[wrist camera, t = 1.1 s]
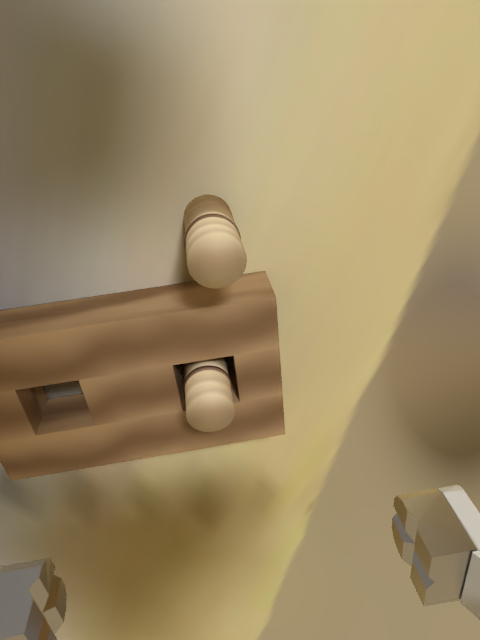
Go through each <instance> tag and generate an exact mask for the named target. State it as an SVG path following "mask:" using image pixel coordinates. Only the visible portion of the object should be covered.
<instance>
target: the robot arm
mask: <svg viewBox="0 0 480 640" xmlns="http://www.w3.org/2000/svg"><path fill="white" fill-rule="evenodd" d="M394 508H395V510H396V512H397V513H396V515H395V516H394V517H393V518H392V531H393V537H394V540H395V544H396V547H397V549H398V552H399V553H400V556H401V558H402V559H403V560H404V561H405V562H407V563H408V564H409V565H411V566H412V567H411V575H410V578H411V580H412V582H413V584H414V587H415V589H416V591H417V593H418V595H419V597H420V599H421V601H422V604H423V606H428V605H434V604H440V603H446V602H452V601H459V600H461V601H460V603H461V604H462V605H464V606H465V607H466V608H467V609H468V610H469V611H470V612H471V613H473V614H474V615H475V616H476V617H477V618H478V619H479V620H480V513H479V512H478V510H477V509H476V507H475V506H474V504H473V503H472V502H471V500H470V499H469V497H468V496H467V494H466V493H465V491H464V490H463V488H461V487H459V485H452V486H447V487H442V488H437V489H436V488H433V489H428V490H422V491H418V492H413V493H407V494H402V495H397V496H396V497H395V498H394ZM54 570H55V565H54V563H53V562H52V560H51V558H49V559H42V560H36V561H30V562H24V563H18V564H12V565H6V566H0V640H57V638H56V636H55V633H56V632H57V630H58V629H59V628H60V626H61V625H62V624H63V622H64V618H65V612H66V590H65V585H64V583H63V581H62V579H61V578H60V577H58V576H56V575H54Z"/></svg>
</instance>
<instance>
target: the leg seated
mask: <svg viewBox="0 0 480 640" xmlns="http://www.w3.org/2000/svg"><path fill="white" fill-rule="evenodd" d="M184 377H185V382H184V391H185V401H186V418H187V421H188V423H189V424H190V425H191V426H192V427H193V428H195V429H196V430H199V431H203V432H214V431H218V430H221V429H223V428H225V427H226V426H228V425H229V424H230V423H231V422H232V420H233V418H234V415H235V409H234V403H233V397H232V392H231V381H230V377H229V374H228V368H227V363H226V357H222V358H215V359H209V360H203V361H196V362H190V363H184Z"/></svg>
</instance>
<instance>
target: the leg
mask: <svg viewBox="0 0 480 640" xmlns="http://www.w3.org/2000/svg"><path fill="white" fill-rule="evenodd" d="M184 229H185V249H186V256H187V267H188V271H189V273H190V275H191V276H192V278H193V279H194V280H195V281H196V282H197V283H199V284H200V285H202V286H205V287H208V288H213V289H218V288H224V287H227V286H230V285H232V284H233V283H235V282H236V281H237V280H238V279H239V278H240V277H241V276H242V274H243V272H244V270H245V267H246V261H247V260H246V253H245V250H244V247H243V244H242V242H241V237H240V233H239V230H238V228H237V226H236V225H235V222H234V219H233V216H232V213H231V211H230V208H229V206H228V205H227V203H226V202H225V201H224V200H222V199H221V198H219V197H217V196H214V195H202V196H199V197H197V198H195V199H193V200H192V201H191V202H190V203H189V204H188V206H187V207H186V210H185V213H184Z"/></svg>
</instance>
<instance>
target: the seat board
mask: <svg viewBox="0 0 480 640" xmlns="http://www.w3.org/2000/svg"><path fill="white" fill-rule="evenodd" d="M228 356H232V360H233V368H234V369H232V370H228V374H229V377H230V381H231V392H232V397H233V403H234V409H235V415H234V418H233V420H232V422H231V423H230V424H229V425H228V426H226V427H225V428H223V429H221V430H218V431H214V432H203V431H199V430H196V429H195V428H193V427H192V426H191V425H190V424H189V423H188V421H187V418H186V401H185V391H184V382H185V377H181V373H180V368H179V364H184V363H190V362H196V361H203V360H209V359H215V358H222V357H228ZM76 380H79V383H80V386H81V389H82V391H83V393H82V394H76V395H69V396H63V397H57V398H51V399H48V397H47V395H46V393H45V390H44V388H43V386H45V385H51V384H57V383H64V382H70V381H76ZM283 434H285V425H284V411H283V396H282V381H281V366H280V351H279V336H278V321H277V306H276V296H275V294H274V291H273V289H272V287H271V284H270V282H269V279H268V277H267V274H266V272H265V271H262V272H255V273H248V274H242V276H241V277H240V278H239V279H238V280H237V281H236V282H235V283H233V284H232V285H230V286H227V287H224V288H218V289H213V288H208V287H205V286H202V285H200V284H199V283H197V282H196V281H194V282H188V283H181V284H174V285H167V286H161V287H154V288H147V289H140V290H134V291H127V292H120V293H113V294H107V295H100V296H93V297H86V298H80V299H73V300H66V301H59V302H53V303H46V304H39V305H32V306H26V307H19V308H12V309H5V310H0V461H1V463H2V465H3V467H4V468H5V470H6V472H7V474H8V476H9V478H10V479H11V480H17V479H23V478H29V477H35V476H41V475H47V474H53V473H59V472H65V471H70V470H76V469H82V468H88V467H94V466H100V465H106V464H112V463H118V462H124V461H130V460H136V459H141V458H147V457H153V456H159V455H165V454H171V453H177V452H183V451H189V450H195V449H201V448H207V447H212V446H218V445H224V444H230V443H236V442H242V441H248V440H254V439H260V438H266V437H272V436H277V435H283Z"/></svg>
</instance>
